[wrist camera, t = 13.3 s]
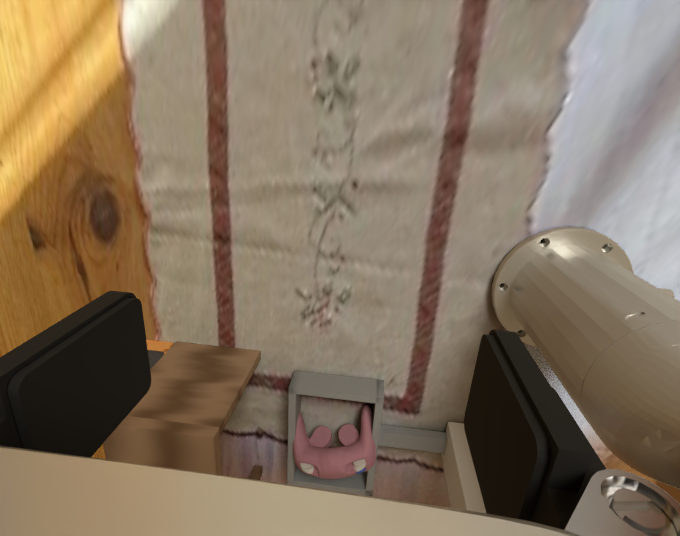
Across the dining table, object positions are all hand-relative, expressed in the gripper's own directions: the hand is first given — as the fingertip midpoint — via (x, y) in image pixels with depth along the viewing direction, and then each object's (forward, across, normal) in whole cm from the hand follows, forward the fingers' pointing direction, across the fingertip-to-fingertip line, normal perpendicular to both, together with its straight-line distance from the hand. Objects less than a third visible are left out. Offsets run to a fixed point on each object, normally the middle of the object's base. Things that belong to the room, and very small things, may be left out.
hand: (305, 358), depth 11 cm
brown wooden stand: (+28, +15, +28) cm, 43 cm away
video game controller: (+28, +1, +28) cm, 40 cm away
